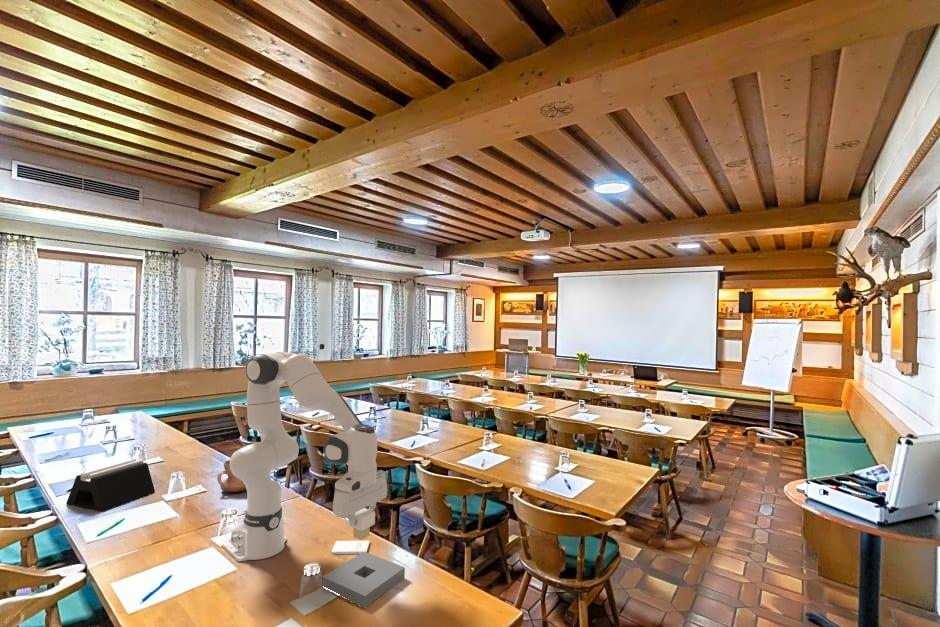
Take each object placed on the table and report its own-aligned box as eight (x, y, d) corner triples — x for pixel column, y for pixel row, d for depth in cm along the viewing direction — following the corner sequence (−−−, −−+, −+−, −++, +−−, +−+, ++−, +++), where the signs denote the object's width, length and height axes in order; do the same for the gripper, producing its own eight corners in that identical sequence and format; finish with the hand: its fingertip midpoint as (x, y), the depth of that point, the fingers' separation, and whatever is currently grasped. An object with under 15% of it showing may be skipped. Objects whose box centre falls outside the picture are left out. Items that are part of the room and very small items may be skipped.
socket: (322, 588, 135) (322, 576, 135) (363, 561, 150) (364, 551, 150) (364, 608, 125) (364, 596, 125) (404, 578, 141) (404, 567, 141)
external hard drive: (336, 544, 162) (369, 544, 163) (331, 556, 154) (366, 555, 155) (336, 540, 162) (370, 539, 163) (331, 551, 154) (366, 550, 155)
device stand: (66, 505, 191) (67, 471, 191) (120, 487, 212) (121, 456, 213) (102, 512, 184) (104, 477, 185) (154, 493, 206) (156, 461, 206)
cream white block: (348, 537, 136) (348, 513, 137) (361, 530, 141) (361, 507, 141) (362, 542, 133) (362, 517, 134) (374, 535, 138) (375, 511, 138)
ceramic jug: (247, 481, 223) (248, 453, 223) (262, 487, 214) (262, 459, 215) (210, 492, 209) (210, 462, 209) (223, 499, 200) (224, 468, 200)
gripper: (377, 466, 148) (377, 507, 148) (330, 484, 131) (329, 531, 130) (391, 470, 145) (391, 511, 145) (345, 489, 128) (344, 536, 127)
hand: (361, 521), depth 137 cm, fingers closed on cream white block, 5 cm apart
